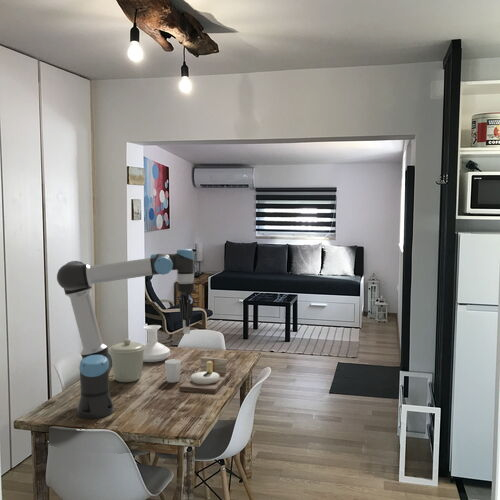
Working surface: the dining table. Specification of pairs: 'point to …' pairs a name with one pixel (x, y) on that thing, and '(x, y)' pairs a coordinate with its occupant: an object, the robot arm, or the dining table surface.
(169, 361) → the white cup
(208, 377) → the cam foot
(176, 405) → the dining table surface
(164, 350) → the white vase
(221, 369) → the stand
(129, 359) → the canister
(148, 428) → the dining table surface
